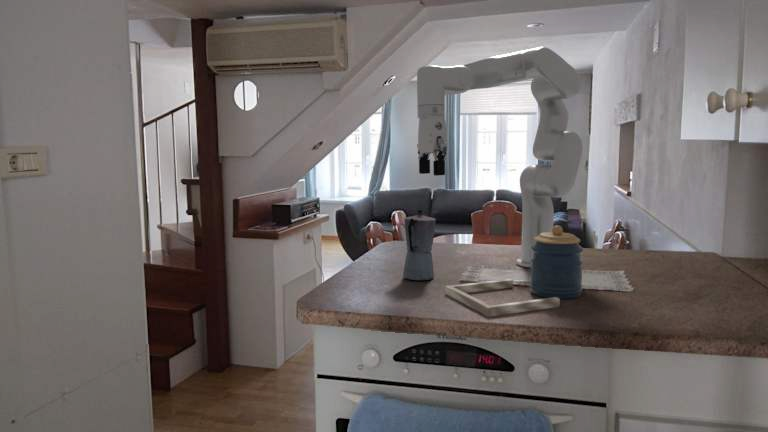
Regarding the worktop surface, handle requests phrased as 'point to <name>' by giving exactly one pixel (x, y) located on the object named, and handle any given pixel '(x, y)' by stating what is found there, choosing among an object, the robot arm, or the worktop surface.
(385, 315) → the worktop surface
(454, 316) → the worktop surface
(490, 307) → the bay frame
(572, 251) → the canister
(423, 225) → the moka pot
